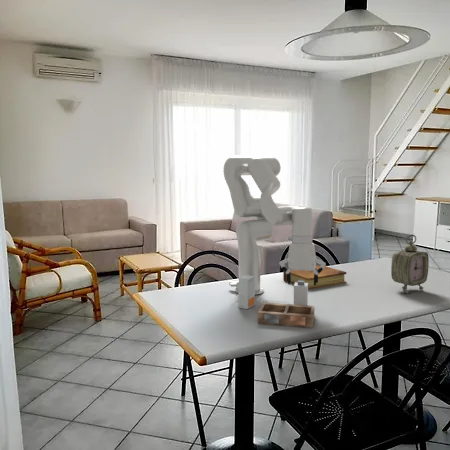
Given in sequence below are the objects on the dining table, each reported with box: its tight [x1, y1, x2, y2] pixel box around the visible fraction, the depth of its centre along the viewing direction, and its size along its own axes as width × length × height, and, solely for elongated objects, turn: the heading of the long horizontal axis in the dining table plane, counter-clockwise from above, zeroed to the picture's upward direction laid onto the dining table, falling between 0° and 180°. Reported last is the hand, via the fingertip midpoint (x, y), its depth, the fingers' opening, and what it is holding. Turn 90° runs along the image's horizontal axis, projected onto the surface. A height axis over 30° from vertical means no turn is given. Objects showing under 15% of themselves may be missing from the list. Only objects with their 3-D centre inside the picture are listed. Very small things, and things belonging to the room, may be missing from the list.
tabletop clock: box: [390, 234, 430, 295], centre depth 194 cm, size 14×9×25 cm, turn 123°
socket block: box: [257, 302, 315, 329], centre depth 158 cm, size 19×12×4 cm, turn 76°
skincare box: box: [238, 275, 256, 310], centre depth 174 cm, size 6×4×12 cm
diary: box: [282, 264, 348, 291], centre depth 212 cm, size 23×19×6 cm
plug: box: [293, 280, 309, 306], centre depth 170 cm, size 5×5×11 cm
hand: (302, 284), depth 169 cm, fingers open, 9 cm apart
